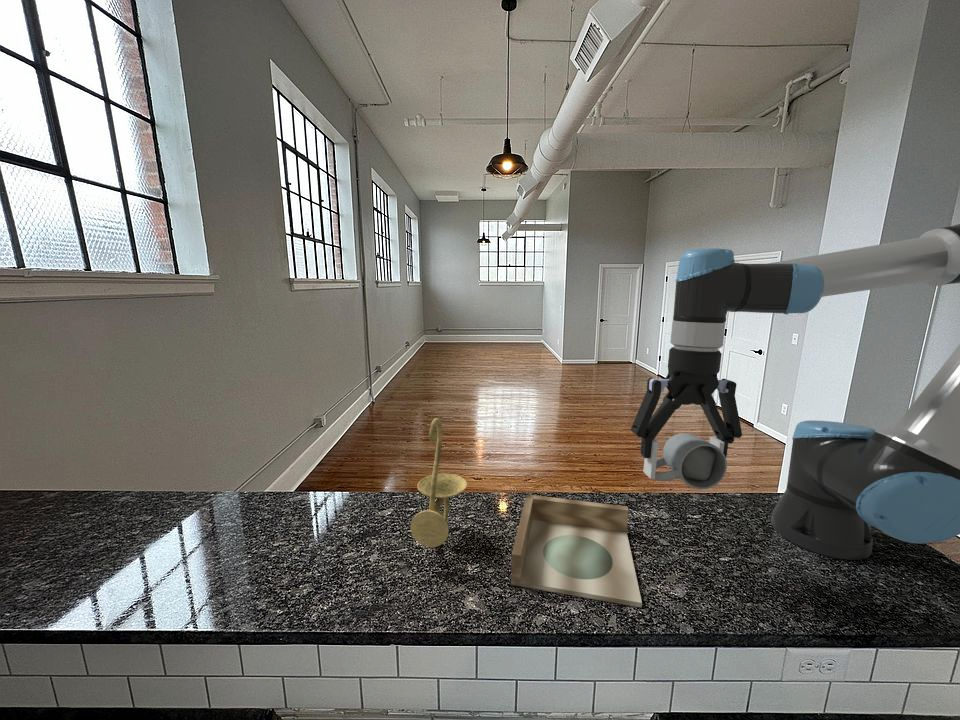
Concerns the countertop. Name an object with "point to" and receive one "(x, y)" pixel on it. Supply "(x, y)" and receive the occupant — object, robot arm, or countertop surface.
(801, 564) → the countertop surface
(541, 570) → the tray
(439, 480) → the wall sconce
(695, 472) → the ceramic mug
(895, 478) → the robot arm
